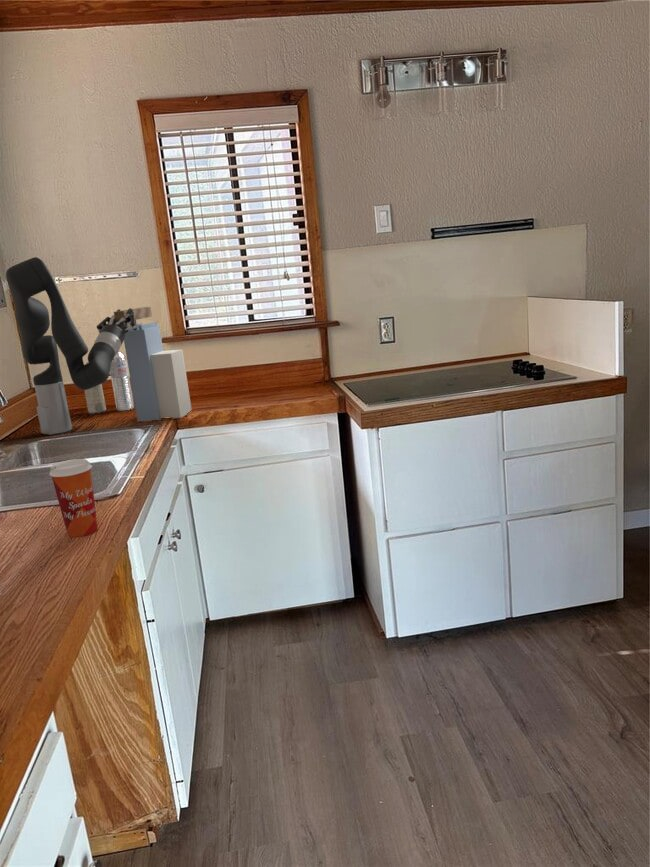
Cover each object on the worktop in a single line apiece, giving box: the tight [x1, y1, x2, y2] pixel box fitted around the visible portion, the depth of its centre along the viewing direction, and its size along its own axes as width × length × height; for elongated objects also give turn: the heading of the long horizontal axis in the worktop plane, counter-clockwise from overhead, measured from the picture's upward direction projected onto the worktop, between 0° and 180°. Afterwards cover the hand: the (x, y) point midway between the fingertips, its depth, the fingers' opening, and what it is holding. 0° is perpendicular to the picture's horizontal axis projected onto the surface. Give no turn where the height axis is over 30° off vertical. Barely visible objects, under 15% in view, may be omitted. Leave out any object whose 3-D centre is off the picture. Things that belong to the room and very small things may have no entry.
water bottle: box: [110, 350, 135, 412], centre depth 250 cm, size 7×7×25 cm
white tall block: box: [151, 348, 193, 419], centre depth 229 cm, size 11×8×23 cm
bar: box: [113, 306, 153, 321], centre depth 219 cm, size 21×4×4 cm, turn 171°
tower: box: [123, 321, 164, 422], centre depth 228 cm, size 13×8×34 cm, turn 171°
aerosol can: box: [83, 361, 107, 415], centre depth 251 cm, size 7×7×20 cm
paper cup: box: [49, 458, 99, 538], centre depth 124 cm, size 8×8×14 cm
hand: (125, 311), depth 214 cm, fingers closed on bar, 3 cm apart
